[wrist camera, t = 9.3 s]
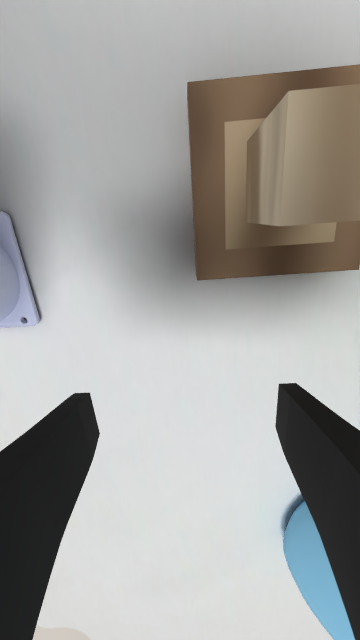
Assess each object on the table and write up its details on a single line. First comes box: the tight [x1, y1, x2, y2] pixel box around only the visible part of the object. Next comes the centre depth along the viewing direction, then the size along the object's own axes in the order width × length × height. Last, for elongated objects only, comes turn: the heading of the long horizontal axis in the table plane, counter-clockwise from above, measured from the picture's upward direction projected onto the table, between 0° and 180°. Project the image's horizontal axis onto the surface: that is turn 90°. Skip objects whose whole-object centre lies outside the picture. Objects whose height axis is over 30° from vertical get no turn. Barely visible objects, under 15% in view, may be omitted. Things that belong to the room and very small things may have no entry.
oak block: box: [246, 84, 360, 226], centre depth 12 cm, size 4×4×6 cm
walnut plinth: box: [187, 65, 360, 280], centre depth 15 cm, size 10×10×2 cm
